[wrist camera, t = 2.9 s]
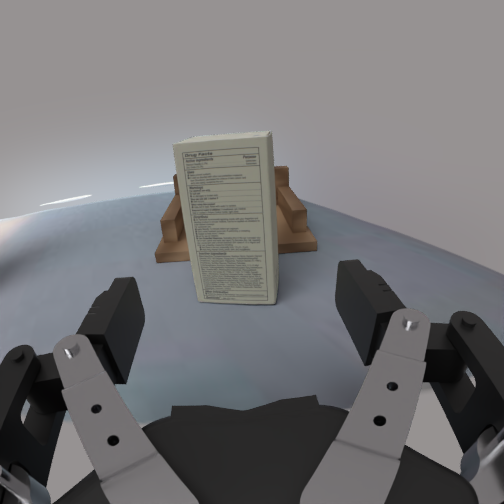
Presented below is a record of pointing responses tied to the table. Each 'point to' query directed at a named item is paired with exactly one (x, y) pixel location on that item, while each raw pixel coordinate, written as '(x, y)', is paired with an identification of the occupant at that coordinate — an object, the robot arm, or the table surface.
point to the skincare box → (230, 215)
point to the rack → (288, 223)
